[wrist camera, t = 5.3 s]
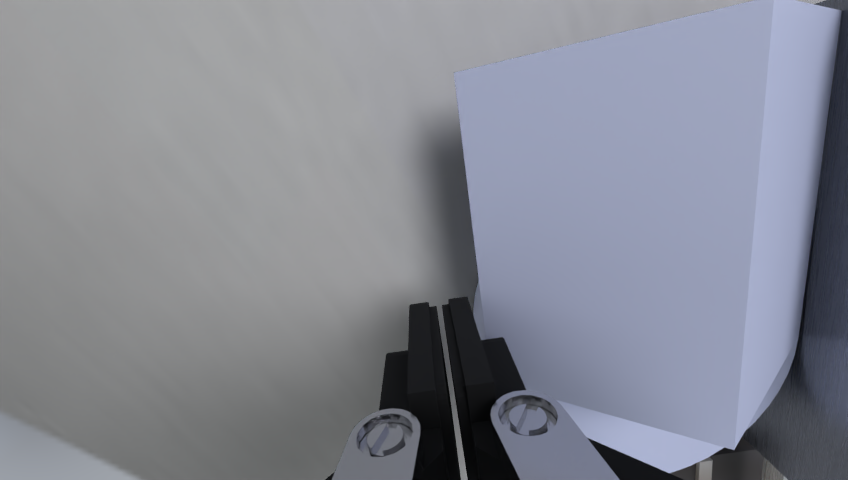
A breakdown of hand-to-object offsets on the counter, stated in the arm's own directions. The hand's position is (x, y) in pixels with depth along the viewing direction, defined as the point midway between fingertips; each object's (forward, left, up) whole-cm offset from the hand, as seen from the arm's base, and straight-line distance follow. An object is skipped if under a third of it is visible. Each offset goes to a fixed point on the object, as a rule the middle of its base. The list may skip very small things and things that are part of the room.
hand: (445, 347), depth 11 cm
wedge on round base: (-1, +6, -4) cm, 7 cm away
